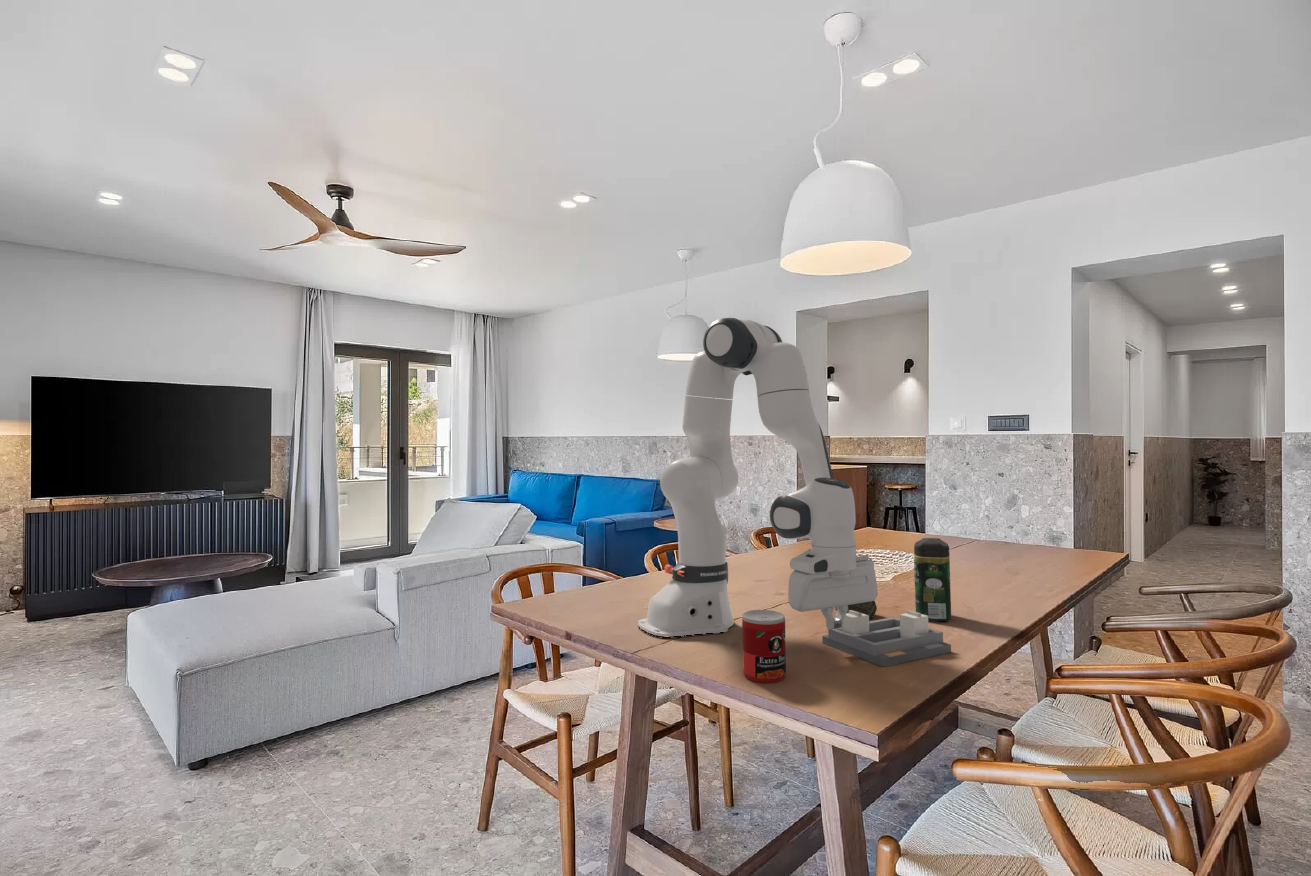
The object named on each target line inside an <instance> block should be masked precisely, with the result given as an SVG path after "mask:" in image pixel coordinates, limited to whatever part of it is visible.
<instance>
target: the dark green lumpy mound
mask: <svg viewBox="0 0 1311 876" xmlns="http://www.w3.org/2000/svg"><path fill="white" fill-rule="evenodd" d="M877 608H878V607H877V603H876V600H875V601H870V602H864V603H857V604H851V605H848V611H847V613H849V610H853V611H856V612H860V613H862V614H866V615H869V619H873V617H874V616H875V614H876V612H877V610H878V609H877ZM834 610H836V612H837V610H838V609H836V607H834Z"/></svg>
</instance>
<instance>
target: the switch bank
mask: <svg viewBox="0 0 1311 876" xmlns="http://www.w3.org/2000/svg"><path fill="white" fill-rule="evenodd" d="M928 629H929V632H928V633H923V634H918V635H913V636H907V637H902V638H900V618H897V617H892V616H891V617H887V618H886V617H885V618H882V619H881V618H880V619H874V620H869V632H866V633H861V634H855V635H851V634H848V633H845V632H843V631H842V628H837V629H828V628H827V630H828V631H827V632H828V634H825V635H822V640H821V641H822V644H824V645H827V646H829V647H832V648H834V649H835V650H836V649H837V650H839V651H842V652H845V653H847V654H849V655H853V656H855V657H857V658H859V659H862V660H865V661H867V662H870V663H872V664H874V665H878V666H880V667H887V666H892V665H897V664H902V663H907V662H912V661H917V660H922V659H926V658H930V657H934V656H939V655H943V654H944V655H945V654H949V653H952V644H951V643H948V642H945V641H944V632H943V631H940V630H937V629H934V628H930V627H928Z"/></svg>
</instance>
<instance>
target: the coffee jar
mask: <svg viewBox="0 0 1311 876" xmlns="http://www.w3.org/2000/svg"><path fill="white" fill-rule="evenodd" d="M913 548H914V549H913V550H914V551H913V553H914V554H913V561H914V562H913V563H914V564H913V570H914V571H913V572H914V573H913V574H914V575H913V576H914V593H915V594H914V597H915V599H914V600H915V601H914V602H915V605H914V606H915V612H917V613H921V614H923V615H927V616H928V622H934V623H936V622H942V621H946V622H947V621H949V620H950V619H951V617H952V601H951V600H952V599H951V597H952V596H951V595H952V593H951V563H950V562H951V561H950V554H951V553H950V546H949V543H947V542H946V541H944V540H942V539H941V538H937V537H936V538H935V537H931V538H930V537H923V538H921V539H920V540H917V541H916V542H915V543H914V545H913Z"/></svg>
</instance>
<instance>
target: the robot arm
mask: <svg viewBox="0 0 1311 876" xmlns="http://www.w3.org/2000/svg"><path fill="white" fill-rule="evenodd" d="M702 344H703V350H702V351H699V352H697V353H696V354H695V355H694V357H693V359H692V361H691V365H690V368H689V373H688V377H687V381H686V386H685V387H686V388H685V389H686V390H685V396H684V397H685V398H684V406H683V416H682V417H683V419H682V431H683V433H684V434H685V436H686V439H687V442H688V448H689V457H688V456H687V457H681V458H679V459H677V460H675V461H672V462H670V463H669V464H667V466H665V468H664V469H663V470H662V472H661V474H660V480H659V484H660V485H659V486H660V490H661V492H662V495H663V496H664V497H665V498H666V499H667V500H668V502H669V503H670V506H671V508H672V513H673V515H674V519H675V522H676V529H677V543H678V550H677V551H678V562H677V563H676V565H674V566H673V565H670V564H665V566H664V567H663V572H664V573H665V574H669V575H671V576H672V577H671V578H672V579H671V580H670V581H669V582H668V583H666V585H664V586H663V588H661V589H660V590H659V591H658V592H657V593H655V594H654V595H653V596H652V597H651V598H650V599H649V602H648V607H647V615H646V618H641V619H638V622H637V626H638V625H639V627H641V628H642V629H643V630H645V631H648V632H650V633H653V634H656V635H659V636H681V637H687V636H686V635H692V636H695V635H694V634H703V635H707V634H706V633H713V634H721V633H720V632H724V633H727V632H728V631H729V629H730V627H732V626H733V625H734V624H735V620H734V618H733V613H732V610H731V606H730V599H729V593H728V584H729V583H728V582H729V563H728V562H727V555H726V553H727V552H726V551H727V550H726V548H727V545H726V544H727V543H726V542H727V541H726V528H725V527H724V526H725V525H723V524H722V522H721V521H720V518H719V516H718V515H719V514H718V511H717V508H716V502H717V501H720V500H723V499H725V498H726V497H728V496H729V495H731V494H732V493H733V492H734V491H735V489H736V488H737V486H738V483H739V472H738V469H737V468H736V466H735V464H734V461H733V454H732V445H731V422H732V410H733V409H732V408H733V398H734V388H735V383H736V380H737V378H738V377H739V376H740V375H741V374H742V375H744V376H750V375H753V377H754V379H755V384H756V386H755V387H756V395H757V396H756V397H757V405H758V407H757V408H758V413H759V416H760V420H761V422H762V424H763V427H765V428H766V429H767V430H768V431H769V432H770V433H772V434H773V435H774V436H777V437H779V438H780V439H782V440H784V441H785V442H787V443H789V444H790V445H791V446H792V447H793V448H794V449H795V451H796V453H797V455H798V456H799V459H800V464H801V469H802V473H803V478H804V483H805V486H804V487H802V488H800V489H798V490H796V491H793V492H792V491H791V492H789V493H786V494H783V495H780V496H778V497H777V498H775V499H774V501H773V502H772V504H771V506H770V509H769V521H770V525H771V527H772V529H773V530H774V532H775V533H776V534H777V535H778V536H779V537H780V538H783V539H788V540H799V539H807V538H808V539H809V541H810V548H809V549H807V550H806V551H804V552H802V553H800V554H799V555H796V556H794V557H792V558H791V559H790V561H789V567H790V569H791V570H793V571H791V574H790V575H789V578H788V591H787V593H788V599H787V600H788V604H789V606H790V608H791V609H792V610H794V611H797V612H801V613H804V612H811V611H817V610H820V611H821V613H822V615H823V617H824V619H825V624H826V628H827V630H828V629H837V628H843V619H844V618H845V616H846V613H847V611H848V605H851V604H857V603H864V602H870V601H875V602H876V600H877V598H878V594H879V592H878V583H877V582H878V581H877V576H876V571H875V562H874V560H873V559H872V558H871V557H870V556H869V555H859V556H858V555H857V542H856V538H855V534H854V532H855V527H856V523H857V522H856V520H857V519H856V504H855V497H854V491H853V488H852V487H851V485H850V484H849V483H848V482H846V481H845V480H842V479H839V478H834V475H833V470H832V466H831V462H830V457H829V453H828V448H827V444H826V440H825V436H824V434H823V433H824V432H823V430H822V428H821V425H820V424H819V422H818V420H817V418H816V415H815V412H814V409H813V405H812V400H811V394H810V385H809V380H808V374H807V371H806V366H805V363H804V360H803V357H802V354H801V351H800V350H799V348H798V347H797V346H796V345H793V344H791V343H788V342H783V339H782V337H781V336H780V335H779V333H778V331H776V330H774V329H773V328H772V327H770V326H767V325H763V324H761V323H759V322H756V321H753V320H748V319H747V320H746V319H745V320H744V319H739V318H735V317H723V318H718V319H716V320H715V321H713V322H711V324H710V325H709V326H708V327H707V329H706V330H705V332H704V335H703V342H702ZM835 607H836V609H838V610H837V611H836V614H835V616H833V614H832V613H834V608H835ZM836 609H835V610H836ZM639 627H638V628H639ZM683 635H685V636H683Z"/></svg>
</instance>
